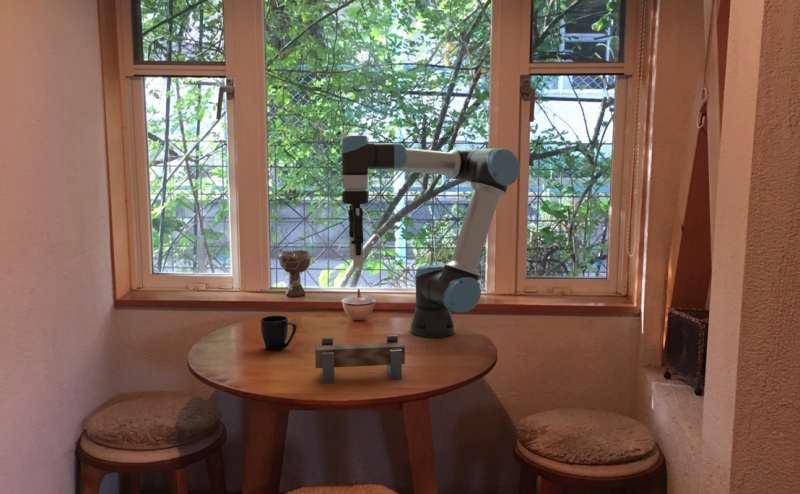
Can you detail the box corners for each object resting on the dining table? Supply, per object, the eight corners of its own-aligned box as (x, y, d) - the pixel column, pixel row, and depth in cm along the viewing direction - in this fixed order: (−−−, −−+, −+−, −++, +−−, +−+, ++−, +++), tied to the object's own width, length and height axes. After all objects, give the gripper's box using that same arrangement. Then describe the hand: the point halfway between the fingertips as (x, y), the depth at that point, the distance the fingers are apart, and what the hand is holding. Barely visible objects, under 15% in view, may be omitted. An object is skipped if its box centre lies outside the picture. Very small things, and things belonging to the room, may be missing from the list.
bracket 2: (397, 369, 176) (397, 334, 175) (401, 379, 168) (401, 343, 167) (386, 369, 176) (386, 335, 174) (390, 380, 168) (390, 343, 166)
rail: (402, 359, 174) (402, 342, 173) (404, 364, 170) (404, 346, 169) (315, 363, 170) (315, 345, 170) (315, 368, 166) (315, 350, 166)
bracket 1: (333, 372, 174) (332, 337, 172) (334, 382, 165) (333, 346, 164) (322, 372, 173) (321, 337, 172) (322, 383, 165) (322, 346, 164)
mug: (287, 355, 188) (286, 324, 187) (256, 349, 194) (255, 320, 193) (303, 348, 196) (302, 318, 194) (273, 343, 201) (272, 314, 200)
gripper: (339, 188, 192) (340, 256, 195) (345, 192, 167) (346, 270, 170) (364, 187, 193) (364, 255, 196) (373, 192, 169) (373, 269, 172)
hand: (356, 262), depth 183 cm, fingers open, 13 cm apart
